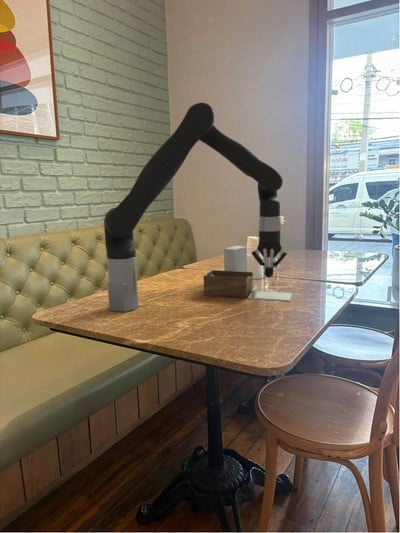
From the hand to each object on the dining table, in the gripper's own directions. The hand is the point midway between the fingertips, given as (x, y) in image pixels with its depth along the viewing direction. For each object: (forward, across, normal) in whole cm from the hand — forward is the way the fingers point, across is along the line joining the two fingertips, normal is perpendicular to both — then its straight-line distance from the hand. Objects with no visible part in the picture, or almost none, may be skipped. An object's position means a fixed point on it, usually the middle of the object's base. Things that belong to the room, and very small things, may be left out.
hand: (269, 277), depth 142 cm
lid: (+8, +1, -1) cm, 8 cm away
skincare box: (+7, -17, +19) cm, 26 cm away
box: (+7, -15, 0) cm, 17 cm away
